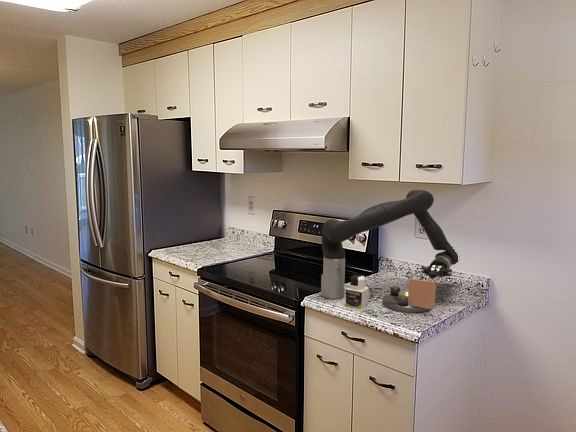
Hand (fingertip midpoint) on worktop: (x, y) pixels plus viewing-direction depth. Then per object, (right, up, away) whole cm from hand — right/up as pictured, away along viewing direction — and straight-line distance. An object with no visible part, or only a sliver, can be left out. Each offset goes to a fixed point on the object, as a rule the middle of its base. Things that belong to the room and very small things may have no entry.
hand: (432, 275), depth 185 cm
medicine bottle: (-29, -13, +5) cm, 32 cm away
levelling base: (-9, -13, +5) cm, 16 cm away
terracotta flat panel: (-8, -11, -4) cm, 14 cm away
